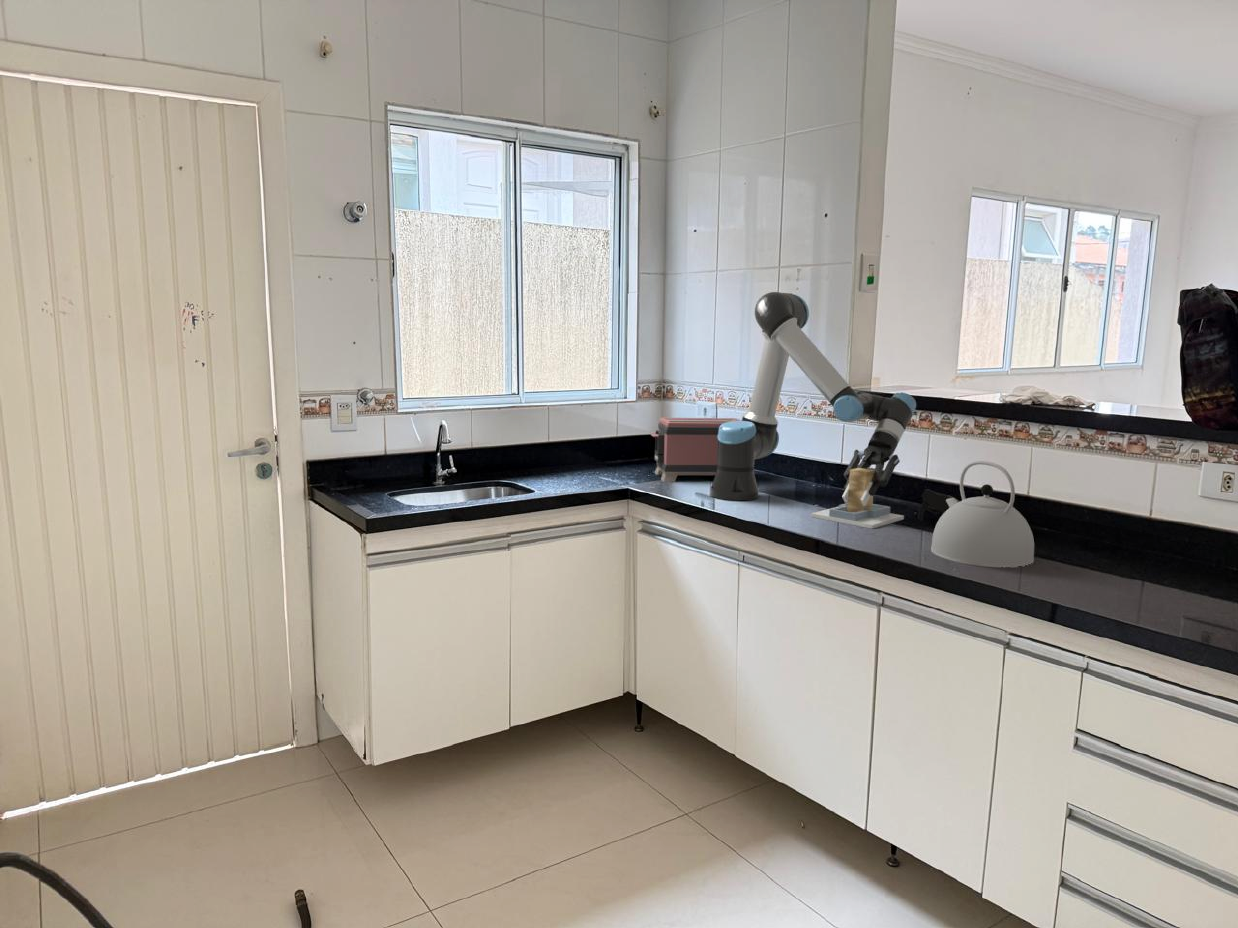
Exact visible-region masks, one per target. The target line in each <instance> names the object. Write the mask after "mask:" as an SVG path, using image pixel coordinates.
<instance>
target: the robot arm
mask: <svg viewBox="0 0 1238 928" xmlns="http://www.w3.org/2000/svg"><path fill="white" fill-rule="evenodd" d="M809 310H810V309H809V306H808V304H807V302H806V301H805V299H804V298H802V297H801V296H799V295H797V294H794V293H791V292H790V293H789V292H779V291H771V292H767V293H765V294H763V295H762V296H761V297H760V298H759V299H758V300H757V303H756V304H755V308H754V316H755V321H756V323H757V324H758V326H759V327H760V328H761V334H762V335H763V337H764V343H763V347H762V352H761V356H760V359H759V360H760V361H759V365H758V370H757V374H756V379H755V383H754V387H753V391H752V394H751V400H750V404H749V409H748V411H746V412H745V413H743V414H742V418H741V421H733V422H726V423H723V424H722V425H721V426H720V427H719V432H718V451H717V472H716V475H714V478H713V482H712V484H711V487H710V497H712V498H715V499H719V500H726V501H727V500H729V501H752V500H755V499H758V498H759V488H758V485H757V480H756V476H755V460H758V459H759V460H760V459H763V458H766V457H768V456H770V455H771V454H772V453H774V452H775V450H776V449H777V448H778V445H779V441H780V435H779V432H778V430H777V428H778V425H779V421H778V420H777V418H776V413H777V408H778V405H779V400H780V395H781V392H782V387H783V383H784V379H785V374H786V370H787V366H788V362H789V357H790V359H791V360H793V362H794V363H795V364H796V365H797V367H798V368H799V369H800V370H801V371H802V373H804V374H805V376H806V377H807V379H809V381H811V383H812V384H813V385H814V386H815V388H816V389H817V390H818V391H819V392H820V393H821V395H823V397H824V398H825V399H826V400H827V402H828V403H829V404H830V405H831V406H832V409H833V413H834V416H835V418H836V419H838V420H839V421H841V422H843V423H844V422H845V423H853V422H856V421H860V420H864V419H865V420H869V421H870V420H871V421H875V422H878V424H877V426H876V428H875V429H874V432H873V433H872V435H871V438H869V439H870V440H869V442H868V445H867V446H866V448H865V449H863V450H862V451H861V450H858V449H855V450H854V451H853V457H852V459H851V461H850V462H849V464H848V466H847V468H846V470H845V471H844V473H843V477H844V478H845V480H846V483H845V485H844V487H843V489H844V492H843V494H842V496H841V497H842V500H843V501H844V504H845V503H848V493H849V476H850V470H851V469H856V468H863V469H870V467H872V466H875V467H874V470H875V473H874V477H873V479H872V481H873V483H872V482H869V484H868V486H867V488H866V490H865V492H864V494H863V496H862V498H861V502H862V504H863V506H866V505H867V503H868V501H869V499H870V497H871V495H872V496H873V497H874V495H875V494H876V492H877V490H878V488H879V487H883V488H884V487H886V486H887V485H888V482H889V481H890V479H891V476H892V474H893V472H894V470H895V468H896V466H897V465H898V464H899V463H900V462H901V460H900V458H899V456H898V454H894V453H895V451H896V449H897V447H898V444H899V442H900V440H901V438H902V437H903V435H904V433H905V430H906V429H907V427H908V425H909V423H910V421H911V419H912V417H913V416H914V412H915V411H916V408H917V402H916V400H915V398H914V397H913V396H912V395H910V394H909V393H906V392H902V391H901V392H896V393H894V394H893V395H892V396H891V397H885V396H880V395H877V394H871V393H869V392H865V391H862V390H860V391H859V390H854V389H853V387H851V385H850V384H849V383H848V381H846V379H845V377H843V376H842V375H841V374H840V373H839V371H838V370H837V369H836V368H835V367H834V366H833V364H832V363H831V362H830V361H829V360H828V358H827V357H826V356H825V355H824V354H823V353H822V352H821V351H820V349H819V348H818V347H817V346H816V345H815V343H814V342H812V340H811V339H810V338H809V337H808V335H807V334H806V333H805V332H804V331H803V330H802V329H803V328H804V327H805V326H806V324H807V323H808V321H809V316H810V311H809ZM885 463H886V466H885ZM884 467H885V468H884Z"/></svg>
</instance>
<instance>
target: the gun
mask: <svg viewBox="0 0 1238 928" xmlns="http://www.w3.org/2000/svg"><path fill="white" fill-rule="evenodd" d="M921 498H922V500H923V501H922V503H921V504H920V506H919V509H918V514H917V517H918V520H919V521H920V522H924V515H925V512H926V511H928V512H930V513H931V514H933V515H940V514H941V513H942V514H944V513H945V512H946V511H947V510H948V509H949V508H950V507H949V505H948V503H947V502H946V500H947V499H950V498H954V496H951V495H947V494H945V493H939V492H935V491H933V490H932V489H929V488H926V489H924V490H923V492H922V493H921ZM955 499H956V500H957V501H958V502H960V500H958V499H957V498H955ZM928 507H930V508H928ZM932 508H934V509H935V510H936V512H935V511H934V510H932Z"/></svg>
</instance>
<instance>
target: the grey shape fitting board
mask: <svg viewBox="0 0 1238 928" xmlns="http://www.w3.org/2000/svg"><path fill="white" fill-rule="evenodd" d="M847 508H848V502H847V503H845V502H844V503H842V504H838V506H836V507H831V508H827V509H823V510H819V511H816V512H811V514H810V517H811V518H816V519H820V520H826V521H831V522H836V523H840V524H841V523H842V524H846V525H851V526H856V527H860V528H861V527H862V528H866V529H867V528H868V529H875V528H879V527H882V526H886V525H889V524H893V523H896V522H899V521H903V520H904V519H905V515H903V514H902V515H901V514H897V513H896V514H895V513H891V506H888V505H881V504H875V503H873V506H872V510H868V509H867V510H863V511H860V512H856V513H854V512H848V511H847Z"/></svg>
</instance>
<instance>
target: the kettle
mask: <svg viewBox="0 0 1238 928" xmlns="http://www.w3.org/2000/svg"><path fill="white" fill-rule="evenodd" d="M977 465H982V466H983V465H984V466H990V467H994V468H997V470H1000V471H1001V472H1002V473H1003V474H1004V475H1005V476H1006V479H1007V480H1008V483H1009V487H1010V500H1009V503H1008V502H1006V501H1004V500H1001V499H998V498H996V497H992V496H991V497H990V495H992V494H993V491H994V489H993V486H992V485H990V484H983V485H982V486H981V489H980V492H981V494H982V495H983V496H974V497H973V496H972V497H968V498H966V495H965V490H964V489H965V488H964V481H965V477H966V476H965V475H966V474H967V472H968V470H969V469H970V468H971V467H973V466H977ZM959 478H960V479H959V491H960V496H961V501H960V500H959V501H960V502H958V501H957V500H958V499H957V498H955V497H953V498H950V499H947V500H946V502H947V503H948V505H949V507H950V508H949V509H948V510H947V511H946V512H945V513H942V515H941V516H940V517H939V519H938V521H937V522H936V524H935V528H934V530H933V532H932V533H933V534H932V539H931V547H930V551H931V552H932V553H933V554H934V555H935V556H937V557H940V558H942V559H945V560H948V561H952V562H956V563H960V564H961V563H962V564H965V565H971V566H977V567H978V566H979V567H988V568H1001V567H1003V568H1005V567H1006V568H1007V567H1010V568H1019V567H1018V566H1022V567H1026V566H1025V565H1027V566H1029V565H1028V564H1030V565H1032V564H1033V563H1034V561H1035V558H1034V557H1035V541H1034V535H1033V531H1032V529H1031V527H1030V525H1029V523H1028V521H1027V519H1026V518H1025V517H1024V516H1023V515H1022V514H1021V512H1020V511H1018V510H1017V509H1016V508H1015V507H1014V502H1015V497H1016V496H1015V495H1016V490H1015V485H1014V481H1013V478H1012V476H1011V475H1010V473H1009V472H1008V471H1007V469H1005V468H1004V467H1003V466H1001V465H999V464H998V463H994V462H991V461H987V460H986V461H985V460H976V461H973V462H970V463H968V464H967V465H966V466H965V467H964V468H963V470H962V471H961V474H960V477H959ZM956 499H957V500H956ZM1031 563H1032V564H1031Z"/></svg>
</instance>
